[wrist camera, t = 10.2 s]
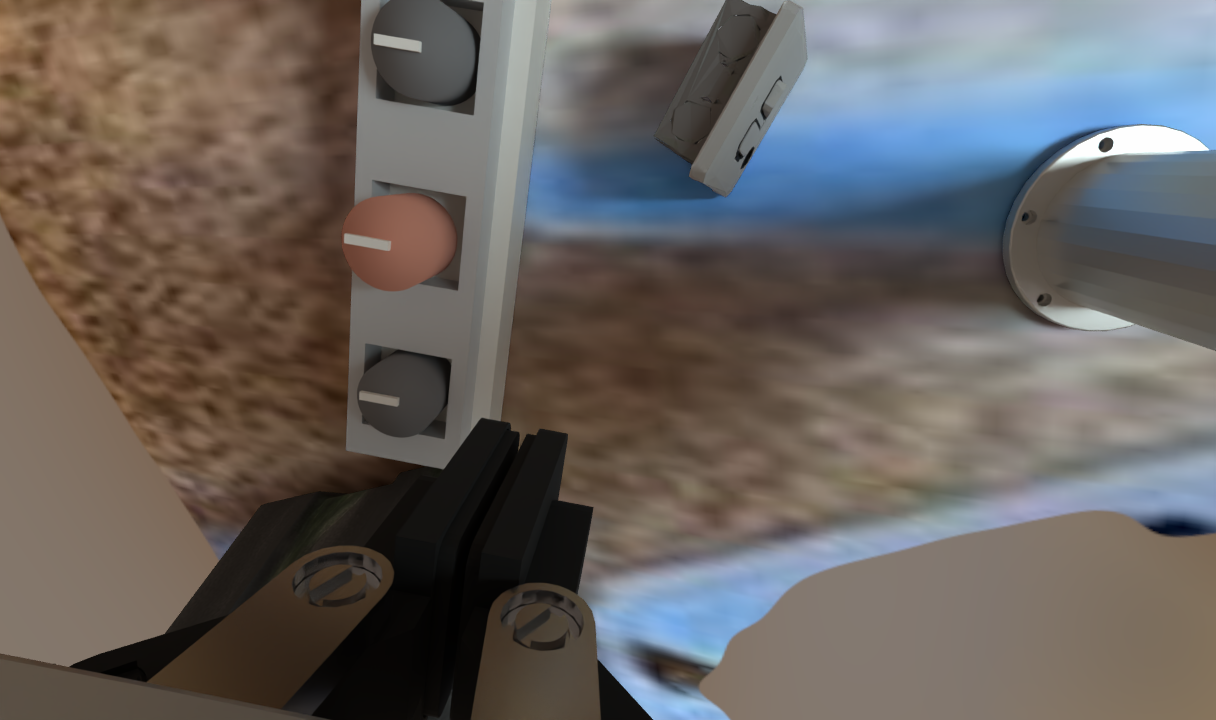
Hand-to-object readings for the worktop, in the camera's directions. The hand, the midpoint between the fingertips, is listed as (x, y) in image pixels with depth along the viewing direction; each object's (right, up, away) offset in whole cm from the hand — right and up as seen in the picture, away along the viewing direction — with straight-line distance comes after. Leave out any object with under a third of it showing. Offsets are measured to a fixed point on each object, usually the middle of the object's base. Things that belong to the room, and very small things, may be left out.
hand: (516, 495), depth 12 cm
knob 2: (-11, +1, +30) cm, 32 cm away
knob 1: (-8, +20, +24) cm, 32 cm away
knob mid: (-10, +10, +25) cm, 28 cm away
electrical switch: (+9, +18, +27) cm, 34 cm away
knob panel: (-9, +12, +31) cm, 34 cm away
